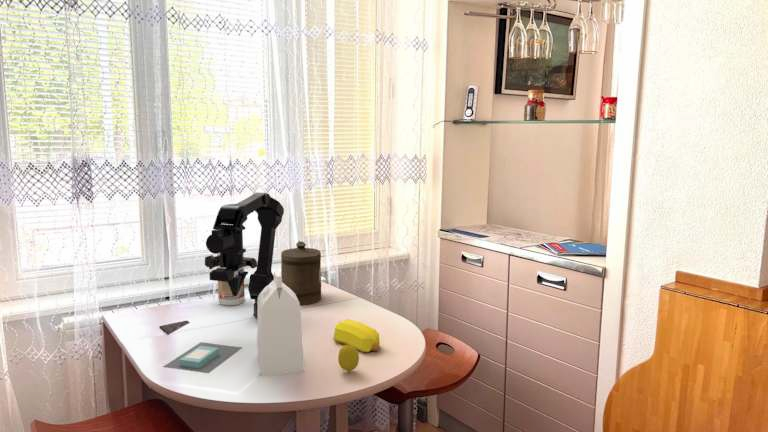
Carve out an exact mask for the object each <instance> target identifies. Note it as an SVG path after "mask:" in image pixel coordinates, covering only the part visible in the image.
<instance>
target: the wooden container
mask: <svg viewBox="0 0 768 432" xmlns="http://www.w3.org/2000/svg"><path fill="white" fill-rule="evenodd" d="M295 246H296V247H293V248H289V249H284V250H282V251H281V253H280V254H281V255H280V258H281V259H280V260H281V261H280V263H281V264H280V265H281V266H280V267H281V271H280V274H281V276H282V282H283V283H284V284H285V285H286V286H287V287H289V288H290V289H291V290H292V291H293V292H294V293H295V294H296V296H297V299H298V301H299V304H300V306H304V305H305V306H306V305H311V304H314V303H318V302H319V301H320V300H322V269H321V268H322V267H321V262H322V259H321V258H322V257H321V255H322V254H321V253H322V252H321V250H320V249H317V248H313V247H312V248H311V247H306V246H307V245H306V243H305V242H304V241H298V242H297V243H296V244H295Z"/></svg>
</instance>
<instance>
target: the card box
mask: <svg viewBox="0 0 768 432" xmlns="http://www.w3.org/2000/svg"><path fill="white" fill-rule="evenodd" d="M218 354H219V348H214V347H207V346H199V347H198V348H196V349H195V350H193V351H192V352H190V353H188V354H187V355H185V356H184V357H182V358H181V359H179V361H180V366H186V367H193V368H200V367H202V366H203V365H204V364H206V363H207V362H209V361H210V360H211V359H213V358H214V357H216V356H217V355H218Z"/></svg>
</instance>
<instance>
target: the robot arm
mask: <svg viewBox="0 0 768 432" xmlns="http://www.w3.org/2000/svg"><path fill="white" fill-rule="evenodd" d="M253 212H256V213H257V221H258V223H259V225H260V227H261V229H260V236H259V237H260V238H259V245H258V255H257V259H255V258H254V257H245V256H244V253H246V252H247V249H246V248H244V242H243V241H244V240H243V239H244V238H243V233H244V232H243V231H244V230H246V227H245V226H244V223H245V222H246V221H247V220H248V216H249V215H250V214H252V213H253ZM284 213H285V209H284V206H283V205H282V203H280V201H278V200H277V199H275V198H274V197H272V196H271V195H270V193H267V192H258V191H257V192H253V193H252V195H250V196H248V197H246V198H244V199H243V200H240V201H239V202H237V203H228V204H224V205H221V206H220V208H219V210H218V212H217V214H216V218H215V221H214V224H213V227H212V230H211V234H209V236H208V237H207V238H206V241H205V246H206V248H207V251H209V252H210V253H212V254H210V255H208V256H205V257H204V265H205V267H206V268H208V269H209V270H211V271H210V273H209V280H210V281H214V282H215V281H216V282H218V281H225V282H226V281H227V282H228V284H229V287H230V289H231V292H232V294H233V296H237V295H238V293H239V291H240V288H241V286H242V284H243V281H244V282H245V280H246V277H247V275H248V274H249V271H246V270H245V267H250V268H251V269H255V268H256V270H255V271H254V272H253V273H251V274H250V275H249V282H248V287H247V289H248V294H249V297H250V300H254V303H253V314H252V315H253V316H254V317H256V318H257V300H258V296H259V294H260V293H261V292H262V291H263V289H264V288H265V287H266V286H267V285H269V284H270V283H271V282H272V281H273V280H274V273H273V272H272V267H273V266H272V265H273V257H274V247H275V242H276V241H275V239H276V231H277V228H278V227H279V225H281V223H282V219H283V217H284ZM217 253H220V255H218V256H217ZM213 254H216V255H215V256H213ZM217 266H220V267H221V268H217ZM224 267H226V269H225V268H224ZM214 268H215V269H214ZM243 268H244V269H243Z"/></svg>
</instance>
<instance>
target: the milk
mask: <svg viewBox="0 0 768 432" xmlns="http://www.w3.org/2000/svg"><path fill="white" fill-rule="evenodd" d="M273 276H274V280H273V281H272V282H271V283H270V284H269V285H267V286H266V287H265V288H264V289H263V291H262V292H261V293H260V294H259V296H258V300H257V317H256V318H257V319H256V320H257V321H256V322H257V326H256V327H257V331H256V332H257V334H256V335H257V336H256V337H257V340H256V341H257V343H256V344H257V346H256V347H257V355H256V357H257V361H258V365H259V371H260V373H259V374H260V376H261V377H265V376H271V375H272V376H273V375H274V376H275V375H280V374H287V373H289V374H291V373H297V372H298V373H299V372H305V361H304V346H303V331H302V330H303V329H302V327H303V326H302V313H301V305H300V304H299V301H298V299H297V296H296V294H295V293H294V292H293V291H292V290H291V289H290V288H289V287H287V286H286V285H285V284H284V283H283V282H282V276H281V271H280V270H274V271H273Z"/></svg>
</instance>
